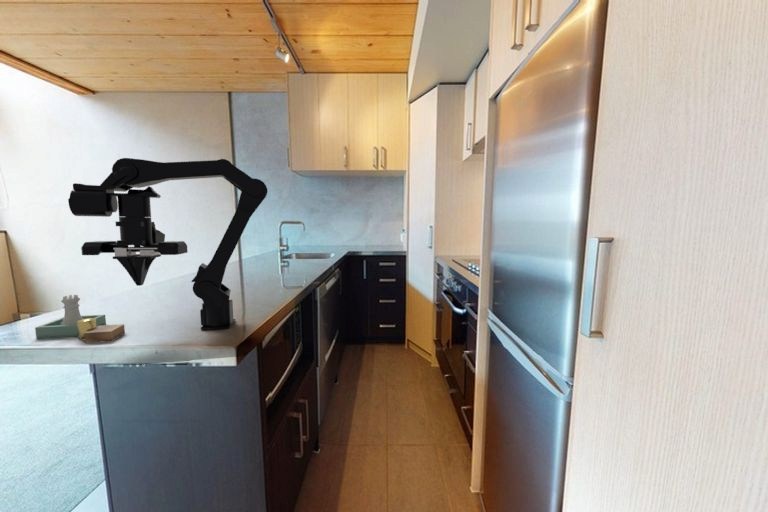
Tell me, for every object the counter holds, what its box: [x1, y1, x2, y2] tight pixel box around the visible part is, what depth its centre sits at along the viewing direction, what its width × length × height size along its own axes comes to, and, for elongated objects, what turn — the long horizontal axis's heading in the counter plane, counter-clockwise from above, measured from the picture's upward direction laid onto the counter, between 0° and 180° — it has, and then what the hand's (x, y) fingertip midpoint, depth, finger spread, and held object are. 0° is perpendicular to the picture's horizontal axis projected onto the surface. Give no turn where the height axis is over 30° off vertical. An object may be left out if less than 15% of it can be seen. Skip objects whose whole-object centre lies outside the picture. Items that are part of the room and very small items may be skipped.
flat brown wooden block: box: [84, 323, 126, 343], centre depth 71 cm, size 5×5×2 cm
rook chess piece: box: [61, 294, 83, 325], centre depth 75 cm, size 4×4×8 cm
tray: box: [34, 314, 107, 339], centre depth 75 cm, size 9×9×2 cm
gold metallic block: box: [77, 318, 96, 340], centre depth 71 cm, size 3×3×4 cm
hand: (140, 285), depth 72 cm, fingers closed
